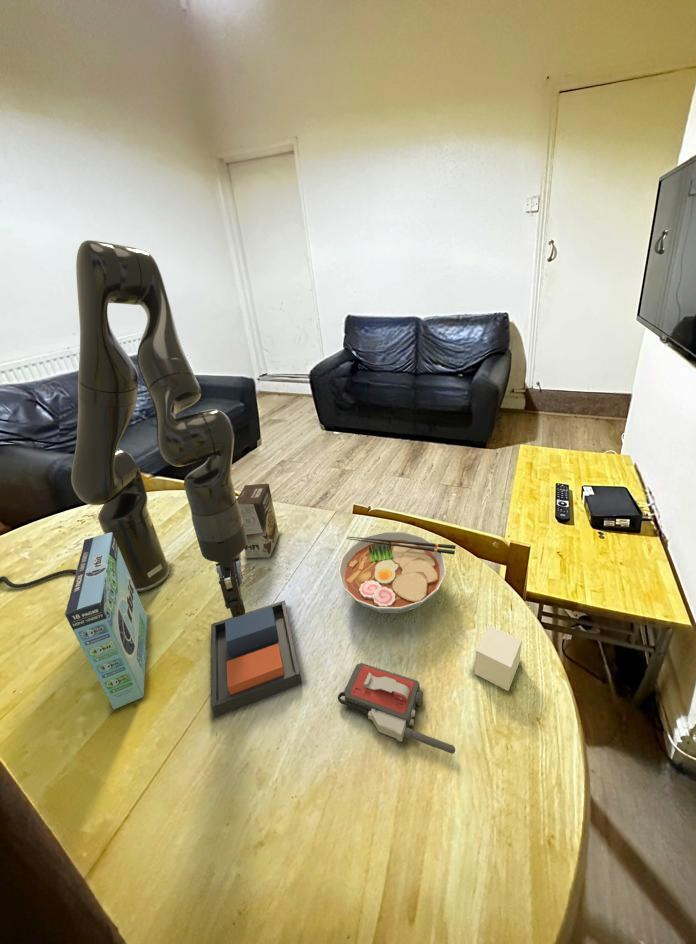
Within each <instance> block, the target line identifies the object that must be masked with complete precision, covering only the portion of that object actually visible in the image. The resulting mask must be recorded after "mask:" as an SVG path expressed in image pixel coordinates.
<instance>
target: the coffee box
mask: <svg viewBox="0 0 696 944" xmlns="http://www.w3.org/2000/svg"><path fill="white" fill-rule="evenodd" d="M272 497H273V496H272V492H271V488H270V483H257V484H256V483H255V484H245V485H244V486H243V488H242V490H241V491H240V492H239V494H238V496H237V497H236V499H237V502H238V504H239V507H240V510H241V514H242V518H243V523H244V527H245V532H246V536H247V545H246V547H245V548H244V550H243V551H244V553H245V557H246V559H251V558H256V559H257V558H271V556H272V553H273V551H274V548H275V546H276V543H277V541H278V539H279V536H280V531H279V527H278V523H277V517H276V513H275V508H274V502H273V498H272Z"/></svg>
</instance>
